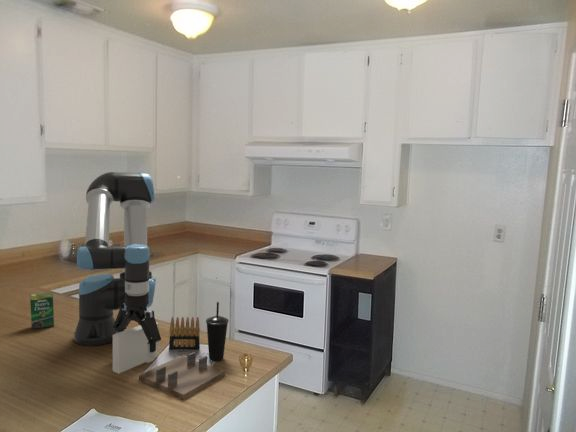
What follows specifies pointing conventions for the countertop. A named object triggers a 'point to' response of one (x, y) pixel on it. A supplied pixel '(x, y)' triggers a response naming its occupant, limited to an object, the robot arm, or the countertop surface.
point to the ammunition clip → (184, 335)
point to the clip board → (182, 375)
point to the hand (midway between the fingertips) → (136, 355)
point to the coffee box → (42, 310)
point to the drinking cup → (216, 336)
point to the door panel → (130, 349)
